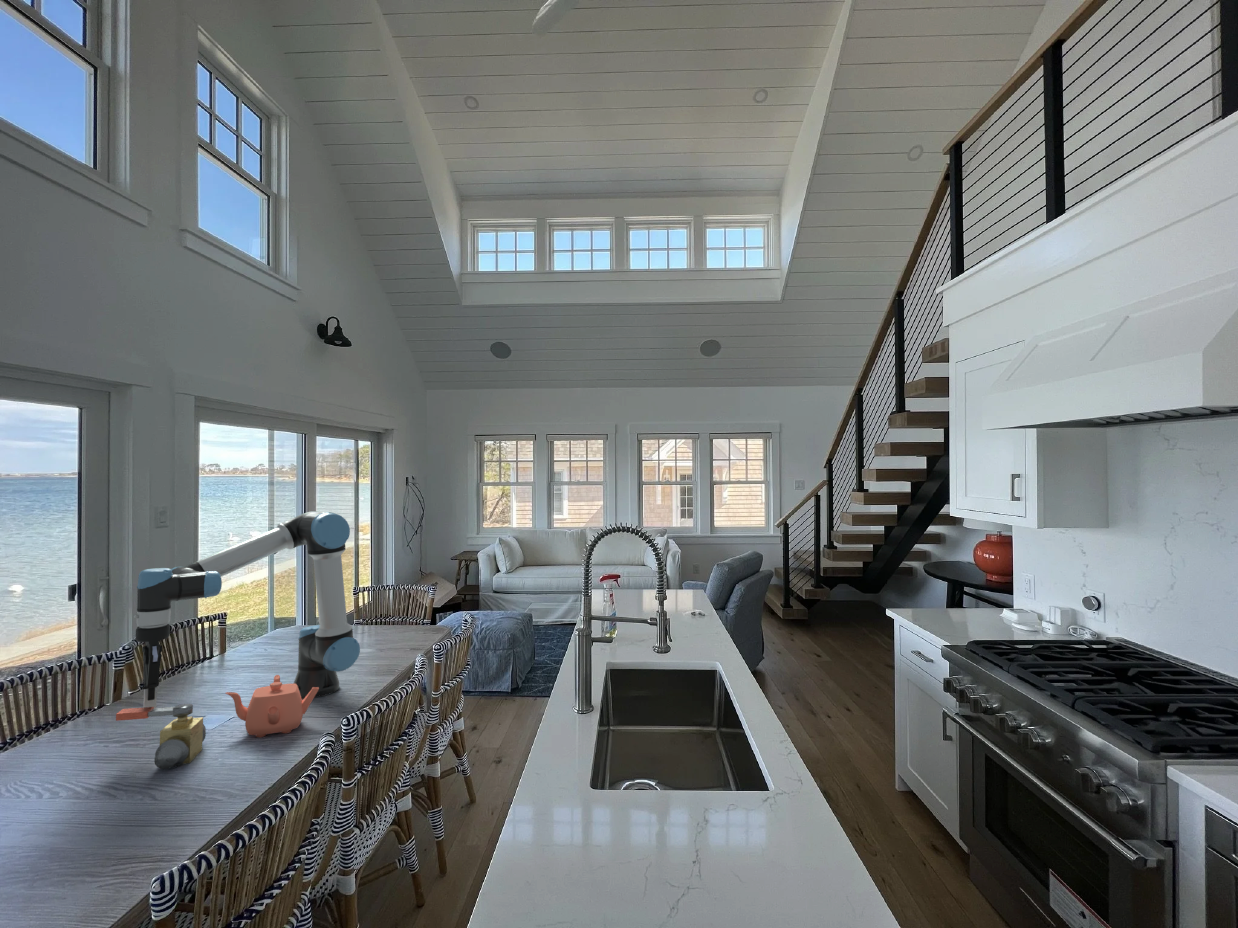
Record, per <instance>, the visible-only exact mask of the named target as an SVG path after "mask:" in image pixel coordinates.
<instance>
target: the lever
mask: <svg viewBox="0 0 1238 928" xmlns="http://www.w3.org/2000/svg"><path fill="white" fill-rule="evenodd" d="M193 712H194V705H193V704H192V703H183V704H182V703H181V704H179V705H176V706H169V707H168V706H166V707H156V708H154V707H144V708H143V707H134V708H133V707H132V708H131V707H130V708H122V709H121V710H120V711H118V712H117V713H115V721H117V722H118V721H130V720H131V721H133V720H144V719H148V718H151V717H165V716H172V717H175V718H178V717H181V716H186V715H188V716H189V715H191V714H193Z"/></svg>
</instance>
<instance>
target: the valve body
mask: <svg viewBox="0 0 1238 928" xmlns="http://www.w3.org/2000/svg"><path fill="white" fill-rule="evenodd" d="M206 732H207V729H206V726H205V724H204V717H194V716H189V715H186V716H181V717H176V718H175V719H173V720H172V721H171V722H169V723H168V724H167V725H166V726H164V727H163V728H162V729H161V730H160V731H159V746H158V747H157V749H156V750H155V753H154V760H153V761H154V765H155V766H156V767H157V768H158V769H160V770H169V769H173V768H176V767H180V765H185V764H190V763H192V761H194V759H195V758H197V756H198V755H199V754H200V753H201V752H202V751H203V742H204V741H205V739H206V736H207V733H206Z"/></svg>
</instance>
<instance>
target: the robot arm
mask: <svg viewBox="0 0 1238 928" xmlns="http://www.w3.org/2000/svg"><path fill="white" fill-rule="evenodd" d="M350 534H351V528H350V525H349V523H348V521H347V520H346V518H345V517H344V516H342V515H341V514H337V513H336V512H331V511H318V510H317V511H316V510H315V511H313V510H312V511H307V512H305V513H304V512H303V513H302V514H299V515H297V516H294V517H292V518H290V519H288V520H285V521H283V522H281V523H280V522H279V523H278V524H277V526H276V528H273V529H271V530H269V531H267V532H264V533H261V534H259V535H256V536H254V537H252V538H249V539H247V540H244V541H243V542H240V543H237V544H235V545H233V546H231V547H228V548H225V549H222V550H221V551H219V552H216V553H213V554H212V555H209V556H207V557H204V558H201V559H199V560H197V561H195V562H194V561H193V562H191V563H189V564H187V565H185V566H183V565H182V566H175V567H173V568H170V567H169V568H168V567H160V568H159V567H157V568H155V567H154V568H147V569H143V570H141V571H140V572H139V574H138V579H137V586H136V590H137V593H136V594H137V596H136V598H137V599H136V613H137V614H135V615H133V619H136V623H135V624H136V626H137V627H136V628H135V638H134V639H135V641H136V642H138V643H145V645H143V646H142V654H143V655H142V660H143V672H142V673H143V676H142V677H143V678H142V682H143V686H142V688H141V689H142V691H143V703H142V704H143V705H142V708H144V707H154V708H157V706H158V705H157V702H158V701H157V699H158V687H159V684H160V670H161V660H162V656H163V654H162V652H163V645H161V643H160V641H162V640H166V639H168V638H169V637H170V636H171V635H170V634H171V633H170V632H171V625H170V622H171V617H172V615H171V614H172V613H171V611H172V607H171V606H172V605H171V604H172V602H179V601H185V600H195V599H207V598H213V597H217V596H218V595H219V594H220V593H221V590H222V585H223V582H222V581H223V579H222V577H224V576H227V575H228V574H231V573H233V572H236V571H238V570H240V569H242V568H244V567H247V566H249V565H251V564H254V563H256V562H258V561H260V560H262V559H264V558H267V557H269V556H271V555H274V554H276V553H278V552H281V551H283V550H285V549H287V550H293V549H295V548H298V547H300V546H306V548H307V549H306V550H307V555H308V557H311V558H312V559H313V569H314V579H315V580H314V581H315V582H314V583H315V590H316V591H315V592H316V602H317V612H318V623H319V624H316V625H310V626H309V625H308V626H306V627H303V628H301V629H300V630H299V633H298V634H299V635H298V660H297V662H298V663H297V664H298V665H297V673H296V675H295V678H294V680H293V683H292V684H297V686H298V689H299V692H300V695H301V698H302V699H304V698H305V697H306V696H307V694H308V693H309V692H310V691H311V689H312V687H319V690H318V692H317V693H316V695H315V697H314V698H318V697H324V696H327V695H331V694H334V693H336V692H337V691H339V689H340V680H339V676H338V674H337V672H339V673H340V672H343V671H346V670H348V669H350V668H351V667H352V666H353V665H354V664H355V663H356V661H358V659H359V657H360V654H361V647H360V643H359V642H358V640H357V639H356V638H355V637H354V631H353V630H354V629H353V625H352V624H350V623H349V622H348V618H347V617H348V616H347V608H346V607H347V605H346V597H345V596H346V595H345V593H346V592H345V585H344V584H345V583H344V572H343V560H342V559H343V558H342V554H343V553H345V551H346V543H347V541H348V540H349V538H350Z"/></svg>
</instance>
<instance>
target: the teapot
mask: <svg viewBox="0 0 1238 928" xmlns="http://www.w3.org/2000/svg"><path fill="white" fill-rule="evenodd" d="M318 690H319V687H312V689H311V691H310V692H309V693H308V694H307V696H306V697H305V698H301V695H300V692H299V689H298V686H297V684H293V683H283V682H281V676H280V675H279V674H276V675H274V676H273V682H272V683H270V684H269V685H267V686H260V687H257V688H255V689H254V691H253V693H252V695H251V698H250V701H249V703H248V705H247V706H248V707H246V706H245V705H244V704H243V703H242V698H241V695H240V694H239V693H237V692H232V691H227V692H225V694H226V695H228V696H230V697H231V698H232V700H233V702H234V708H235V714H236V716H237V717H238V718H239V719H240V720H241V721H244V722H245V730H246V732H247V734H248V735H249V736H255V738H263V737H266V736H267V735H270V734H277V733H282V734H290V733H292V730H295V729H297V728H299V726H300V725H301V723H302V719H303V716H304V715H305V713H306V712H307V710H308V709H309V707H310V706H311V703H312V702H313V700H314V699H315V698H316V697H315V695H316V693H317V692H318Z"/></svg>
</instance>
